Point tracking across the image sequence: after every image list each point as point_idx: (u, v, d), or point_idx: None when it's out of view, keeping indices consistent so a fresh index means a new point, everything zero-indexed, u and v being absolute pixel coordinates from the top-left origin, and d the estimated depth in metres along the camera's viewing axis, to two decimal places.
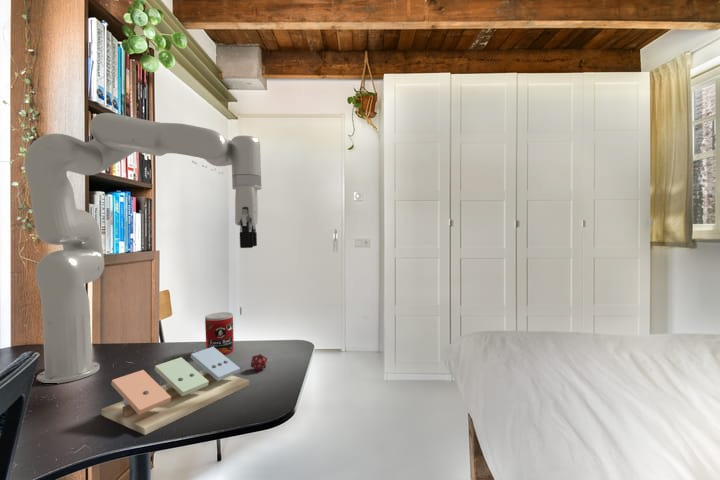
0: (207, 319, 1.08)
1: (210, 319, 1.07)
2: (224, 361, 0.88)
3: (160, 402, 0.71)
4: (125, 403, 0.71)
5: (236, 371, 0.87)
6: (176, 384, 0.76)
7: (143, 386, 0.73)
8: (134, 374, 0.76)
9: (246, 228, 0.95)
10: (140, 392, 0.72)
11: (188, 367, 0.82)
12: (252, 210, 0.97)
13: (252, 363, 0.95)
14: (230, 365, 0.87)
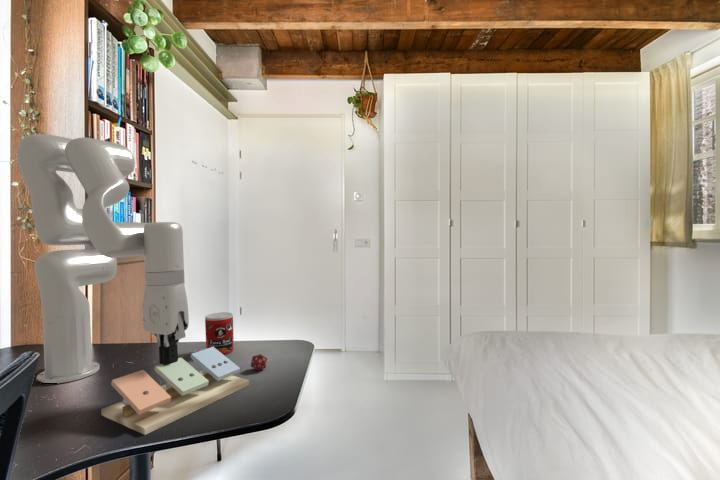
0: (207, 319, 1.08)
1: (210, 319, 1.07)
2: (224, 361, 0.88)
3: (160, 402, 0.71)
4: (125, 403, 0.71)
5: (236, 371, 0.87)
6: (176, 384, 0.76)
7: (143, 386, 0.73)
8: (134, 374, 0.76)
9: (176, 341, 0.81)
10: (140, 392, 0.72)
11: (188, 367, 0.82)
12: (187, 314, 0.81)
13: (252, 363, 0.95)
14: (230, 365, 0.87)
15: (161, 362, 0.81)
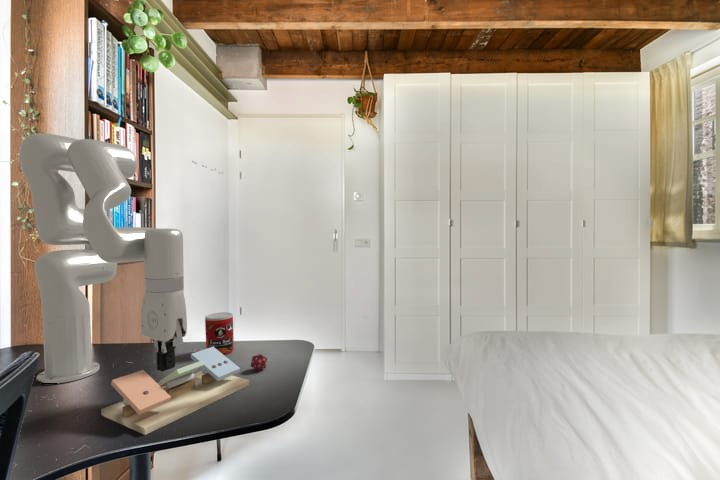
0: (207, 319, 1.08)
1: (210, 319, 1.07)
2: (224, 361, 0.88)
3: (160, 402, 0.71)
4: (125, 403, 0.71)
5: (236, 371, 0.87)
6: (171, 373, 0.77)
7: (143, 386, 0.73)
8: (134, 374, 0.76)
9: (173, 347, 0.82)
10: (140, 392, 0.72)
11: None
12: (186, 320, 0.81)
13: (252, 363, 0.95)
14: (230, 365, 0.87)
15: (158, 368, 0.82)
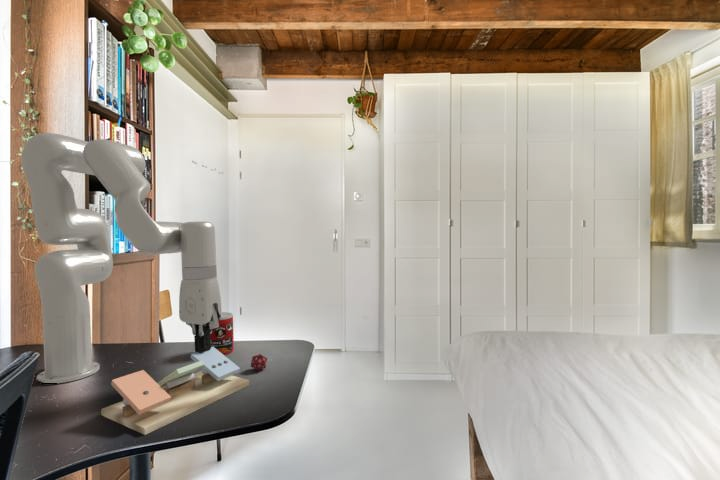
0: None
1: None
2: (224, 361, 0.88)
3: (160, 402, 0.71)
4: (125, 403, 0.71)
5: (236, 371, 0.87)
6: (171, 373, 0.77)
7: (143, 386, 0.73)
8: (134, 374, 0.76)
9: (210, 330, 0.89)
10: (140, 392, 0.72)
11: None
12: (220, 305, 0.88)
13: (252, 363, 0.95)
14: (230, 365, 0.87)
15: (196, 350, 0.88)
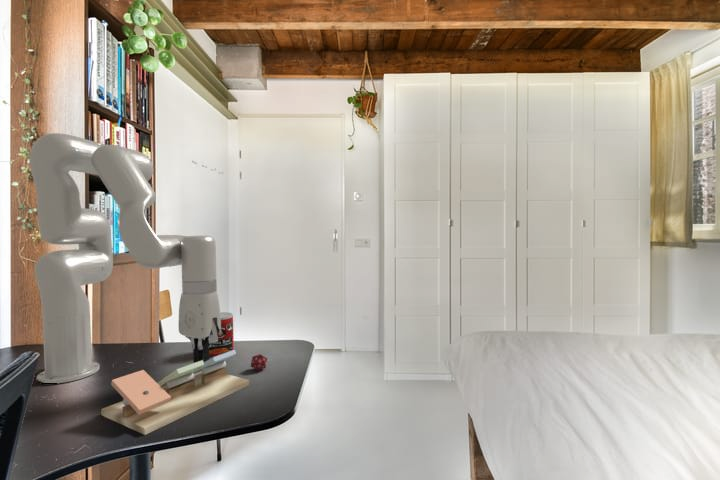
0: None
1: None
2: None
3: (160, 402, 0.71)
4: (125, 403, 0.71)
5: (232, 352, 0.87)
6: (171, 373, 0.77)
7: (143, 386, 0.73)
8: (134, 374, 0.76)
9: (209, 344, 0.89)
10: (140, 392, 0.72)
11: None
12: (220, 319, 0.89)
13: (252, 363, 0.95)
14: None
15: None
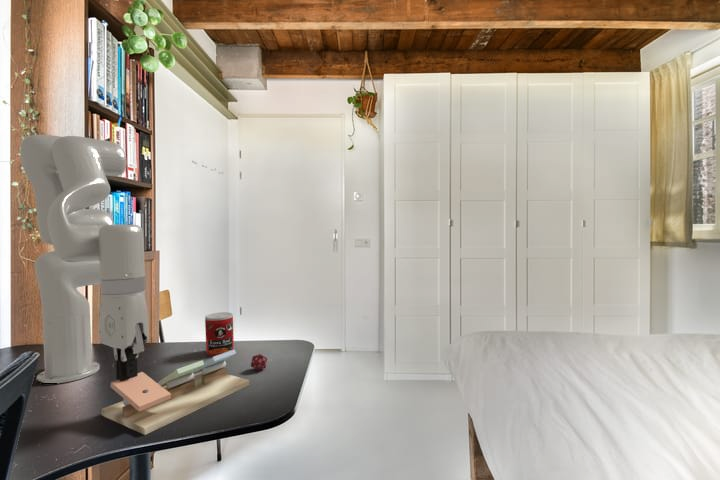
0: (207, 319, 1.08)
1: (210, 319, 1.07)
2: None
3: (160, 399, 0.71)
4: (125, 403, 0.70)
5: (232, 352, 0.87)
6: (171, 373, 0.77)
7: (143, 385, 0.74)
8: None
9: (134, 355, 0.74)
10: (139, 391, 0.72)
11: None
12: (147, 325, 0.74)
13: (252, 363, 0.95)
14: None
15: (118, 378, 0.74)
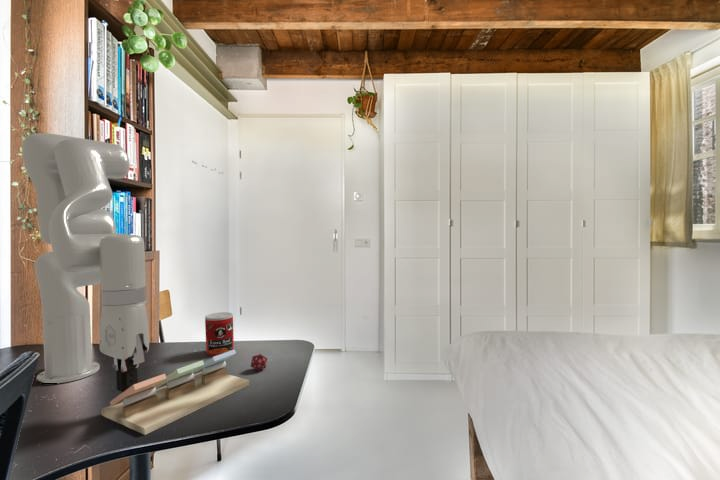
0: (207, 319, 1.08)
1: (210, 319, 1.07)
2: None
3: (155, 378, 0.72)
4: (125, 402, 0.70)
5: (232, 352, 0.87)
6: (171, 373, 0.77)
7: None
8: None
9: (134, 365, 0.74)
10: None
11: None
12: (148, 336, 0.74)
13: (252, 363, 0.95)
14: None
15: (118, 388, 0.74)
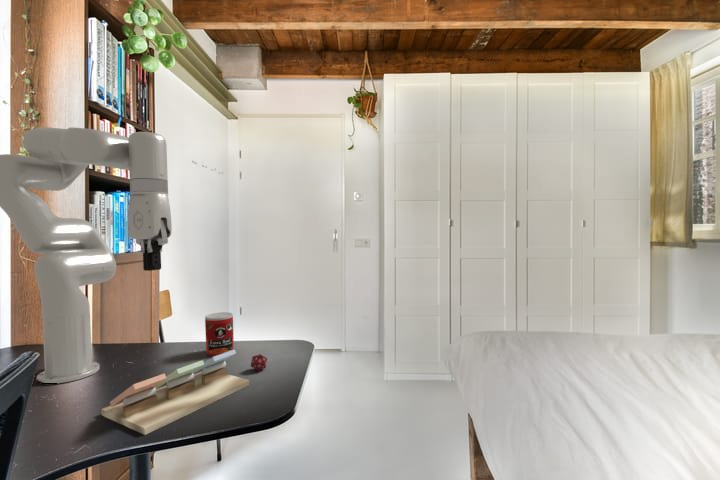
0: (207, 319, 1.08)
1: (210, 319, 1.07)
2: None
3: (155, 378, 0.72)
4: (125, 402, 0.70)
5: (232, 352, 0.87)
6: (171, 373, 0.77)
7: None
8: None
9: (159, 248, 0.85)
10: None
11: None
12: (170, 221, 0.85)
13: (252, 363, 0.95)
14: None
15: (145, 268, 0.85)
